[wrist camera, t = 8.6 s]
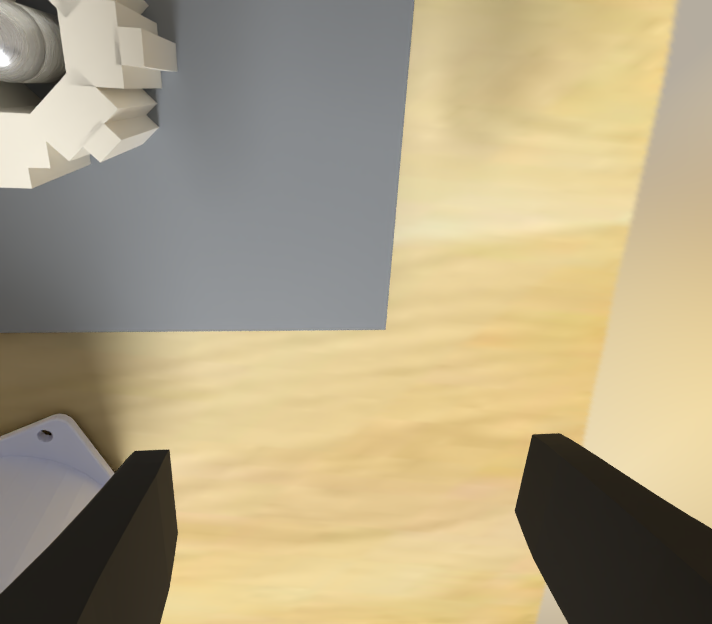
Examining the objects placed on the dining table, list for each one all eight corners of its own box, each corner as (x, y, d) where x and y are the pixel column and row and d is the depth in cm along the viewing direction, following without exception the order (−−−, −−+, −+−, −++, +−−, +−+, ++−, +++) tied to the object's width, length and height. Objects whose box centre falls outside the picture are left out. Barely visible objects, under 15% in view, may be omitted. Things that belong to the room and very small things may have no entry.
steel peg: (51, 93, 14) (-26, 94, 11) (15, 31, 14) (-81, 9, 10) (105, 70, 14) (46, 64, 11) (71, 6, 13) (-4, -23, 10)
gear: (-80, 103, 14) (-206, 109, 10) (-36, -134, 12) (-169, -229, 8) (137, 193, 16) (94, 225, 12) (202, -5, 14) (176, -38, 10)
